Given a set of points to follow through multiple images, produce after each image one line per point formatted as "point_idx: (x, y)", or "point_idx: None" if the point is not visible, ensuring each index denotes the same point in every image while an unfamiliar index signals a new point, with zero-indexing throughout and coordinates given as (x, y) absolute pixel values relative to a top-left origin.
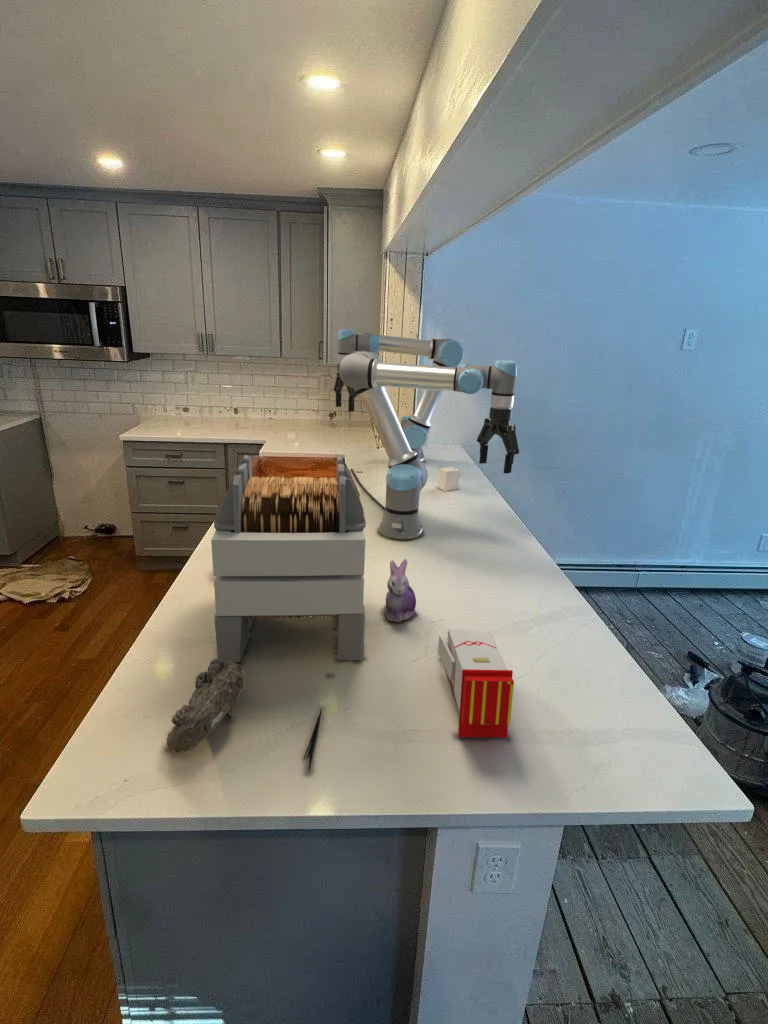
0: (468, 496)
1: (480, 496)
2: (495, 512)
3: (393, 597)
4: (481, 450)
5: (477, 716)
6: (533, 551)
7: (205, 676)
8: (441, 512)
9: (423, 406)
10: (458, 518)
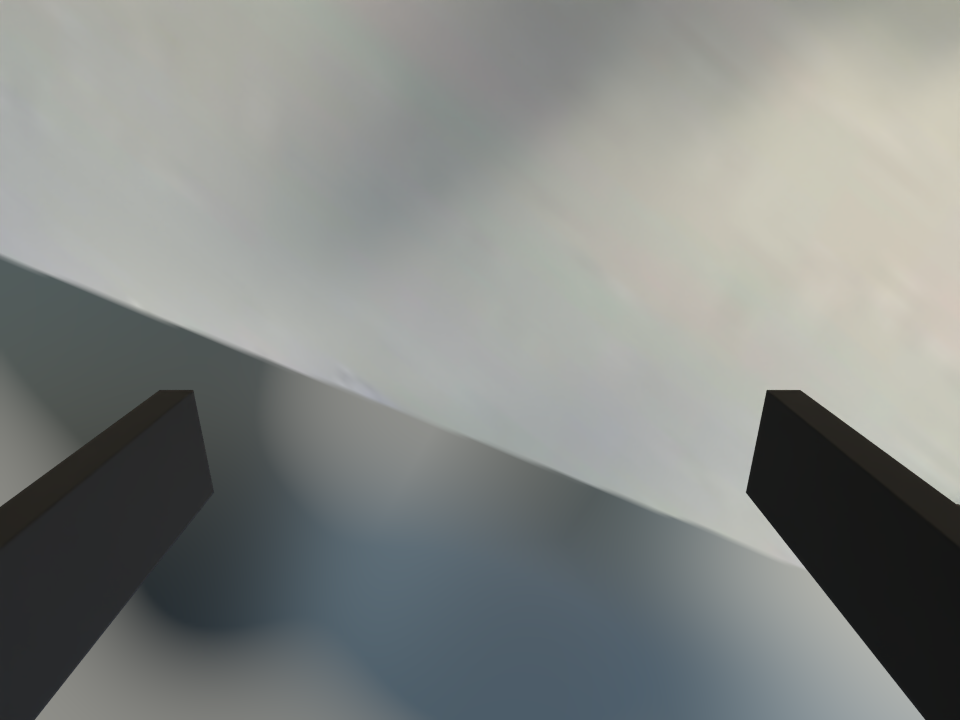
0: (947, 484)
1: None
2: (670, 461)
3: None
4: (950, 529)
5: None
6: (139, 291)
7: None
8: (846, 164)
9: None
10: (704, 206)
